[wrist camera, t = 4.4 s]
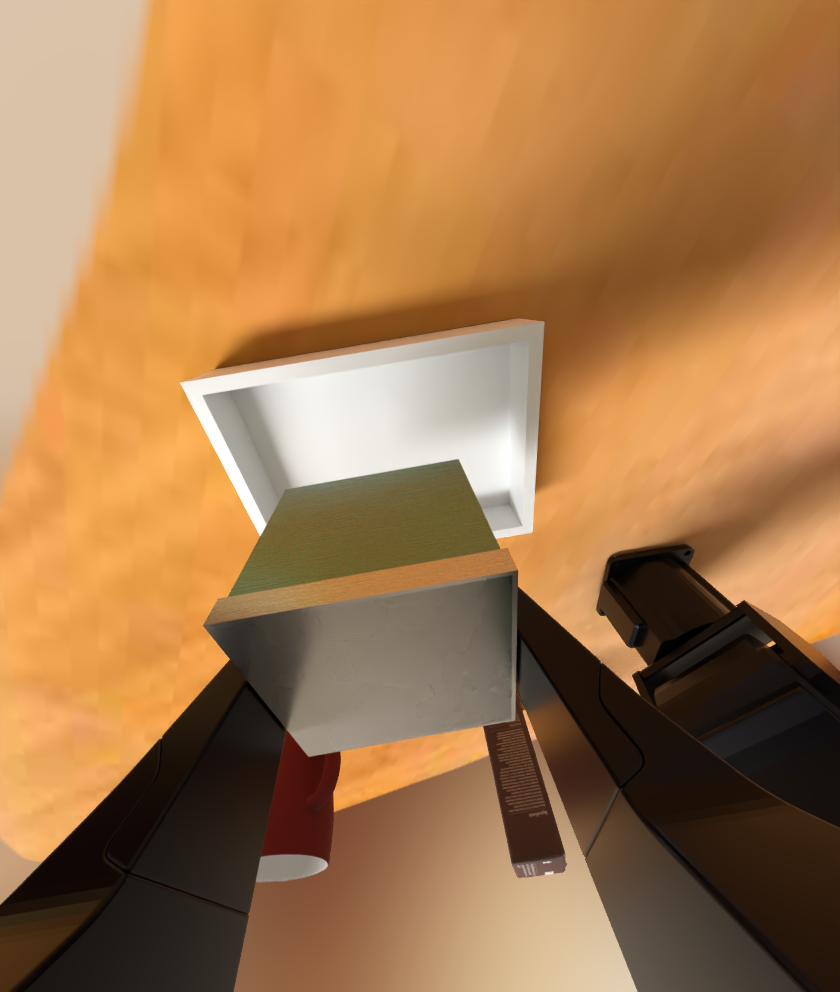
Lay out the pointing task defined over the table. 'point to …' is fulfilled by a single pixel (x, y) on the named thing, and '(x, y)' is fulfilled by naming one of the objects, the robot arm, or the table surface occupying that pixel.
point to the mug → (300, 815)
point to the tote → (384, 416)
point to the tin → (376, 611)
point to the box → (524, 799)
